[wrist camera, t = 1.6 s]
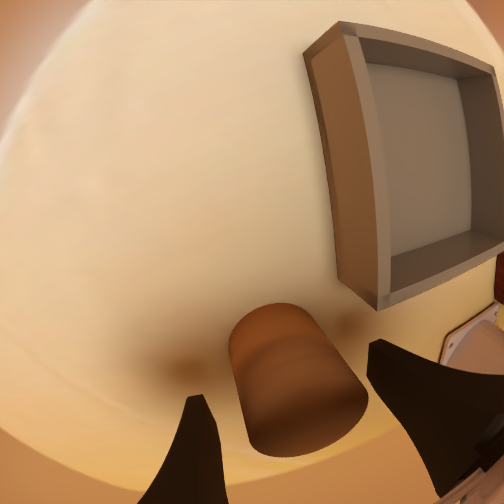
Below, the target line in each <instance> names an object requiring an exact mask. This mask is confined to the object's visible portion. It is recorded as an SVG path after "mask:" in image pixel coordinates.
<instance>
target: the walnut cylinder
mask: <svg viewBox="0 0 504 504" xmlns="http://www.w3.org/2000/svg"><path fill="white" fill-rule="evenodd" d="M229 354H230V359H231V363H232V368H233V373H234V377H235V382H236V386H237V391H238V395H239V400H240V404H241V408H242V413H243V417H244V421H245V425H246V429H247V433H248V437H249V441H250V444H251V445H252V447H253V448H254V449H255V450H257V451H258V452H260V453H262V454H264V455H268V456H272V457H295V456H301V455H305V454H309V453H312V452H315V451H317V450H320V449H322V448H324V447H327V446H329V445H330V444H332V443H334V442H336V441H337V440H339V439H340V438H342V437H343V436H344V435H346V434H347V433H348V432H349V431H350V430H351V429H352V428H353V427H354V426H355V425H356V424H357V423H358V422H359V421H360V419H361V418H362V416H363V415H364V413H365V411H366V408H367V405H368V398H369V397H368V392H367V390H366V388H365V387H364V386H363V384H362V383H361V382H360V380H359V379H358V378H357V376H356V375H355V374H354V372H353V371H352V370H351V368H350V367H349V366H348V364H347V363H346V362H345V360H344V359H343V358H342V356H341V355H340V354H339V352H338V351H337V350H336V348H335V347H334V346H333V344H332V343H331V342H330V340H329V339H328V338H327V336H326V335H325V334H324V333H323V331H322V330H321V329H320V327H319V326H318V325H317V323H316V322H315V321H314V319H313V318H312V317H311V315H310V314H309V313H308V312H307V311H306V310H304V309H302V308H301V307H298V306H296V305H293V304H287V303H275V304H269V305H265V306H262V307H260V308H257V309H255V310H253V311H252V312H250V313H249V314H247V315H246V316H245V317H243V318H242V319H241V320H240V321H239V322H238V324H237V325H236V326H235V328H234V329H233V331H232V333H231V336H230V339H229Z"/></svg>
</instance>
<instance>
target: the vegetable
mask: <svg viewBox="0 0 504 504" xmlns="http://www.w3.org/2000/svg"><path fill="white" fill-rule="evenodd" d="M494 291H495V299H496V300H497V301H498V302H500V303H502V304H504V251H503V252H501V253H499V254H498V256H497V263H496V276H495V287H494Z"/></svg>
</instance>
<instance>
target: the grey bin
mask: <svg viewBox="0 0 504 504" xmlns="http://www.w3.org/2000/svg"><path fill="white" fill-rule="evenodd" d="M303 56H304V59H305V63H306V68H307V72H308V76H309V80H310V85H311V89H312V94H313V98H314V103H315V108H316V113H317V118H318V123H319V128H320V134H321V139H322V145H323V151H324V157H325V164H326V170H327V177H328V184H329V191H330V199H331V207H332V216H333V225H334V235H335V245H336V257H337V270H338V279H339V280H340V281H342V282H343V283H344V284H345V285H346V286H348V287H349V288H350V289H351V290H352V291H354V292H355V293H356V294H357V295H358V296H359V297H361V298H362V299H363V300H364V301H365V302H367V303H368V304H369V305H370V306H371V307H373V308H374V309H375V310H376V311H380V310H382V309H385V308H387V307H390V306H392V305H395V304H397V303H400V302H402V301H404V300H407V299H409V298H411V297H414V296H416V295H418V294H420V293H423V292H425V291H427V290H429V289H431V288H434V287H436V286H438V285H440V284H442V283H444V282H446V281H448V280H450V279H452V278H454V277H456V276H458V275H460V274H462V273H464V272H466V271H468V270H470V269H472V268H474V267H476V266H478V265H480V264H482V263H483V262H485V261H487V260H489V259H491V258H492V257H494V256H496V255H498V254H499V253H501V252H503V251H504V110H503V104H502V99H501V95H500V90H499V86H498V82H497V78H496V74H495V70H494V67H493V66H491V65H489V64H487V63H485V62H483V61H481V60H479V59H476V58H474V57H472V56H470V55H467V54H465V53H462V52H460V51H457V50H455V49H452V48H450V47H447V46H444V45H441V44H438V43H435V42H432V41H429V40H426V39H423V38H420V37H416V36H413V35H409V34H405V33H401V32H397V31H393V30H389V29H384V28H380V27H375V26H369V25H363V24H357V23H351V22H343V21H338V22H337V23H336V24H334V25H333V26H332V27H331V28H330V29H329V30H328V31H326V32H325V33H324V34H323V35H322V36H321V37H320V38H319V39H317V40H316V41H315V42H314V43H313V44H312V45H311V46H310V47H309V48H308V49H307V50H306V51H305V52H303Z"/></svg>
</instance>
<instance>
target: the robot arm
mask: <svg viewBox="0 0 504 504" xmlns="http://www.w3.org/2000/svg"><path fill="white" fill-rule="evenodd" d="M498 309H499V304H498V303H495V304H493V305H492V306H491V307H489V308H488V309H486V310H485V311H484V312H482V313H481V314H479V315H478V316H477V317H475V318H474V319H472V320H471V321H469V322H468V323H466V324H465V325H463V326H462V327H460V328H459V329H457V330H456V331H454V332H452V333H451V334H449V335H448V337H447V338H446V341H445V345H444V349H443V353H442V356H441V360H440V364H438V363H436V362H433V361H430V360H428V359H425V358H423V357H420V356H418V355H416V354H413V353H411V352H409V351H407V350H404V349H402V348H400V347H398V346H396V345H394V344H392V343H390V342H387V341H385V340H383V339H378V340H376V341H374V342H371V343H369V352H368V364H367V375H366V376H367V378H368V379H369V381H370V383H371V385H372V386H373V388H374V390H375V391H376V393H377V394H378V396H379V397H380V398H381V399H382V401H383V402H384V403H385V405H386V406H387V407H388V408H389V409H390V411H391V412H392V413H393V414H394V416H395V417H396V418H397V419H398V421H399V422H400V423H401V424H402V426H403V427H404V429H405V430H406V431H407V433H408V435H409V436H410V438H411V440H412V441H413V443H414V445H415V447H416V448H417V450H418V452H419V454H420V456H421V458H422V460H423V462H424V464H425V466H426V468H427V470H428V473H429V475H430V478H431V480H432V482H433V485H434V488H435V491H436V493H437V495H438V496H439V497H440V498H441V499H440V500H438V501H437V502H435V503H434V504H455V503H456V502H457V501H458V500H460V499H461V500H460V504H504V331H503V330H502V329H501V328H499V327H498V326H496V325H495V321H496V317H497V313H498ZM137 504H229V503H228V499H227V495H226V489H225V481H224V472H223V462H222V452H221V443H220V438H219V433H218V429H217V424H216V421H215V419H214V417H213V415H212V413H211V411H210V409H209V407H208V405H207V403H206V400H205V398H204V396H203V394H201V395H196V396H190V397H188V398H187V399H186V403H185V407H184V410H183V414H182V417H181V420H180V423H179V426H178V429H177V432H176V434H175V437H174V440H173V442H172V445H171V447H170V449H169V452H168V454H167V456H166V458H165V460H164V462H163V464H162V466H161V468H160V470H159V472H158V474H157V475H156V477H155V479H154V480H153V482H152V483H151V485H150V487H149V488H148V490H147V491H146V493H145V494H144V495H143V497H142V498H141V499H140V501H139V502H138V503H137Z"/></svg>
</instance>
